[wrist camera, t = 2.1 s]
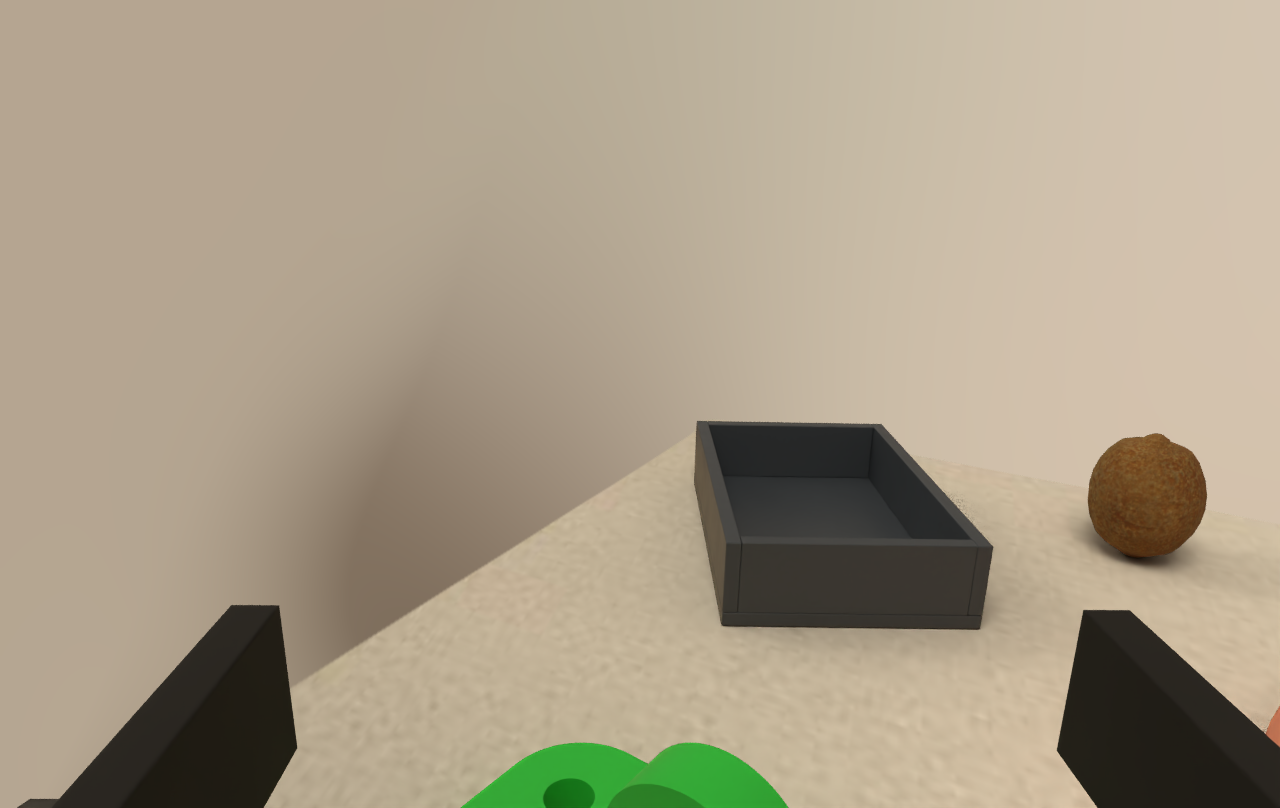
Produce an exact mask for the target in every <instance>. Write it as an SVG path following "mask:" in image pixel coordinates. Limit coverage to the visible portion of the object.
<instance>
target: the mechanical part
mask: <svg viewBox="0 0 1280 808" xmlns="http://www.w3.org/2000/svg"><path fill="white" fill-rule="evenodd" d="M461 808H788V806H787V805H786V804H785V802H784V801H783V799H782V798H781V797H780V796H779V794H778V793H777V792H776V791H775V790H774V788H773V787H772V786H771V785H770V784H769V783H768V782H767V781H766V780H765V779H764V778H763V777H762V776H761V775H760V774H758V773H757V772H756V771H755V770H754V769H753V768H751V767H750V766H749V765H747V764H746V763H745V762H743V761H742V760H740V759H739V758H737V757H735V756H734V755H732V754H730V753H728V752H726V751H724V750H722V749H719V748H716V747H713V746H710V745H706V744H701V743H681V744H676V745H673V746H670V747H668V748H666V749H665V750H663V751H662V752H660V753H659V754H658V755H657V756H656V757H655V758H654V759H653V760H652V761H651V762H650V763H649V764H647V763H645V762H643V761H641V760H639V759H638V758H636V757H634V756H632V755H630V754H628V753H626V752H624V751H622V750H619V749H617V748H613V747H610V746H606V745H601V744H594V743H568V744H562V745H557V746H552V747H549V748H546V749H543V750H540V751H538V752H535V753H533V754H531V755H529V756H527V757H526V758H524V759H522V760H521V761H520V762H518V763H517V764H515V765H514V766H513V767H512V768H510V769H509V770H508V771H507V772H505V773H504V774H503V775H501V776H500V777H499V778H498V779H496V780H495V781H494V782H493V783H491V784H490V785H489V786H487V787H486V788H485V789H484V790H482V791H481V792H480V793H479V794H477V795H476V796H475V797H474V798H472V799H471V800H470V801H468V802H467V803H466V804H465V805H463V806H462V807H461Z"/></svg>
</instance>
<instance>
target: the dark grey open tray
mask: <svg viewBox="0 0 1280 808" xmlns="http://www.w3.org/2000/svg"><path fill="white" fill-rule="evenodd" d="M694 483H695V488H696V493H697V499H698V504H699V509H700V514H701V520H702V525H703V530H704V535H705V541H706V546H707V551H708V556H709V562H710V567H711V572H712V577H713V583H714V588H715V593H716V598H717V604H718V609H719V614H720V620H721V624H722V625H723V626H797V627H874V628H952V629H980V625H981V619H982V616H981V615H982V613H983V607H984V601H985V595H986V589H987V583H988V576H989V570H990V564H991V558H992V552H993V546H992V545H991V544H990V543H989V542H988V540H987V539H986V538H985V537H984V536H983V535H982V534H981V533H980V532H979V531H978V530H977V528H976V527H975V526H974V525H973V524H972V523H971V522H970V521H969V520H968V519H967V517H966V516H965V515H964V514H963V513H962V512H961V511H960V510H959V509H958V508H957V507H956V505H955V504H954V503H953V502H952V501H951V500H950V499H949V498H948V497H947V496H946V494H945V493H944V492H943V491H942V490H941V489H940V488H939V487H938V486H937V485H936V484H935V482H934V481H933V480H932V479H931V478H930V477H929V476H928V475H927V474H926V473H925V471H924V470H923V469H922V468H921V467H920V466H919V465H918V464H917V463H916V462H915V460H914V459H913V458H912V457H911V456H910V455H909V454H908V453H907V452H906V451H905V450H904V448H903V447H902V446H901V445H900V444H899V443H898V442H897V441H896V440H895V439H894V437H892V435H891V434H890V433H889V432H888V431H887V430H886V429H885V428H884V427H883V425H882V424H840V423H782V422H781V423H780V422H777V423H776V422H722V421H708V422H707V421H697V427H696V450H695V473H694Z"/></svg>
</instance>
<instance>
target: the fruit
mask: <svg viewBox="0 0 1280 808" xmlns="http://www.w3.org/2000/svg"><path fill="white" fill-rule="evenodd" d="M1206 499H1207V492H1206V481H1205V478H1204V475H1203V472H1202V469H1201V466H1200V463H1199V462H1198V460H1197V459H1196V457H1195V456H1194V454H1193V453H1192V452H1191V451H1190V450H1188V449H1187V448H1185V447H1183V446H1180V445H1178V444H1175V443H1173V442H1170V440H1169V439H1167V438H1166V437H1165V436H1164V435H1162V434H1151V435H1147V436H1145V437H1133V438H1124V439H1122V440H1120V441H1118V442H1117V443H1116V444H1114V445H1113V446H1111V447H1110V448H1108V449H1107V451H1106V452H1105V453H1104V454H1103V455H1102V456H1101V457H1100V459H1099V460H1098V462H1097V464H1096V466H1095V468H1094V469H1093V472H1092V476H1091V479H1090V483H1089V493H1088V507H1089V514H1090V517H1091V520H1092V522H1093V525H1094V528H1095V530H1096V532H1097V533H1098V534H1099V535H1100V536H1101V537H1102V538H1103V539H1104V540H1105V541H1106V542H1108V543H1109V544H1110V545H1112V546H1113V547H1115V548H1116V549H1118V550H1119V551H1121V552H1122V553H1124V554H1125V555H1127V556H1130V557H1136V558H1141V557H1148V556H1157V555H1164V554H1168V553H1171V552H1173V551H1175V550H1176V549H1177V548H1179V547H1180V546H1181V545H1182V544H1183V543H1184V542H1185V541H1186V540H1187V539H1189V538H1190V537H1191V536H1192V535H1193V533H1194V532H1195V530H1196V529H1197V527H1198V526H1199V524H1200V523H1201V520H1202V517H1203V514H1204V512H1205V507H1206Z"/></svg>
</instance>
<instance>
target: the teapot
mask: <svg viewBox="0 0 1280 808" xmlns="http://www.w3.org/2000/svg"><path fill="white" fill-rule="evenodd" d="M1266 735H1267V736H1268V737H1269V738H1270V739H1271V740H1272V741H1273V742H1275V743H1276V744H1277V745H1278V746H1279V747H1280V706H1279V708H1278V710H1277V711H1276V713H1275V715H1274V716H1273V718H1272V720H1271V721H1270V724H1269V727H1268V729H1267V732H1266Z"/></svg>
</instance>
